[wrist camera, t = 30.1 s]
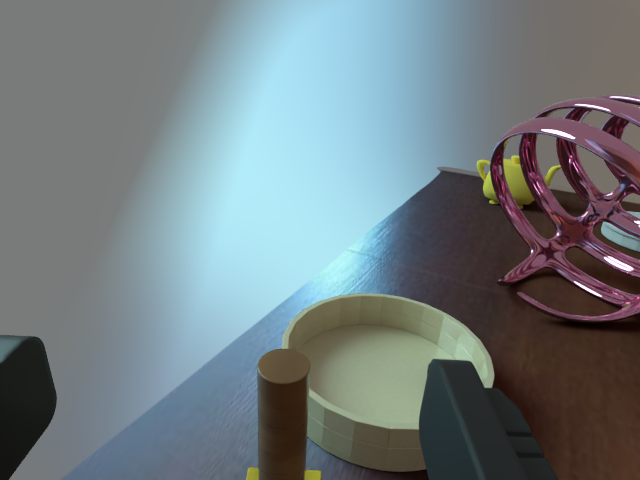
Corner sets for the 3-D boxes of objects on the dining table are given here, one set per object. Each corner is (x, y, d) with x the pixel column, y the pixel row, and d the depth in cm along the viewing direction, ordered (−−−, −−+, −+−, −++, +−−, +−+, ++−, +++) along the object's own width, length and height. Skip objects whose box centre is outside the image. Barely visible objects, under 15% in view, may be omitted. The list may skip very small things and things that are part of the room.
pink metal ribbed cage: (529, 189, 36) (766, 9, 38) (401, 179, 63) (542, 75, 65) (650, 415, 43) (844, 255, 45) (488, 319, 70) (613, 222, 72)
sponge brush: (235, 574, 26) (226, 397, 20) (249, 496, 30) (245, 333, 25) (317, 579, 26) (331, 402, 20) (319, 499, 30) (330, 338, 25)
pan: (250, 439, 35) (249, 397, 33) (309, 314, 52) (311, 282, 50) (497, 499, 31) (511, 456, 29) (473, 343, 48) (481, 309, 46)
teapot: (553, 203, 100) (566, 158, 95) (552, 217, 91) (566, 167, 86) (474, 189, 107) (483, 147, 103) (466, 201, 98) (475, 154, 94)
